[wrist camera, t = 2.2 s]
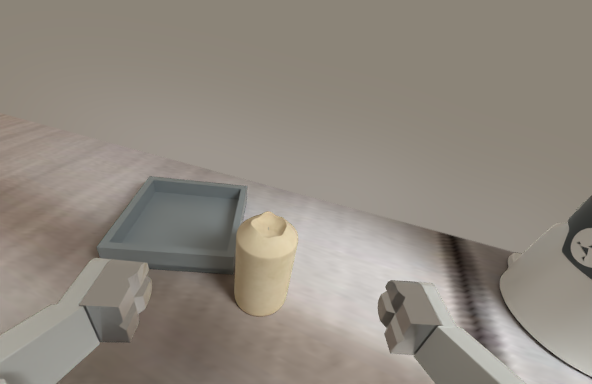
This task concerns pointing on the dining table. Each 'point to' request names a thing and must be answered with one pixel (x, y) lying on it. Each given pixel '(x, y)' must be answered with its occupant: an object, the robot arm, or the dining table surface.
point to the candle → (263, 263)
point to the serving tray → (179, 226)
